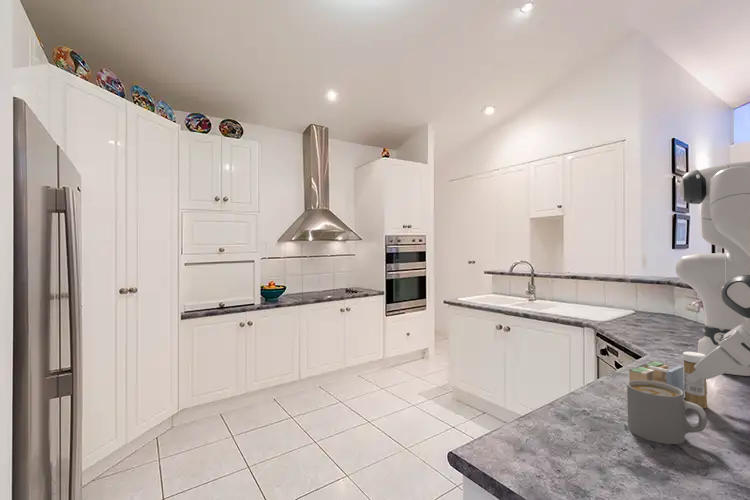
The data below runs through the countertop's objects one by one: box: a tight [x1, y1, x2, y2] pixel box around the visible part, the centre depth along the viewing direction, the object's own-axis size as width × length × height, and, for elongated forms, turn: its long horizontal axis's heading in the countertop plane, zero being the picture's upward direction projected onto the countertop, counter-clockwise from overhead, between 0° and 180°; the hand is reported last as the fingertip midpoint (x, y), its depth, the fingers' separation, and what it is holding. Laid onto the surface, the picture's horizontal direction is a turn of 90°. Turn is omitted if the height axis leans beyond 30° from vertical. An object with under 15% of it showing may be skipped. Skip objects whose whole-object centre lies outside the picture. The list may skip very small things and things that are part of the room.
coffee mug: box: [626, 380, 708, 445], centre depth 79 cm, size 13×10×10 cm
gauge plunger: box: [648, 365, 685, 395], centre depth 99 cm, size 9×5×9 cm, turn 121°
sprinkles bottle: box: [682, 351, 709, 409], centre depth 94 cm, size 5×5×13 cm
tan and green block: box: [628, 360, 669, 384], centre depth 102 cm, size 14×4×7 cm, turn 121°
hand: (697, 375), depth 93 cm, fingers open, 8 cm apart
